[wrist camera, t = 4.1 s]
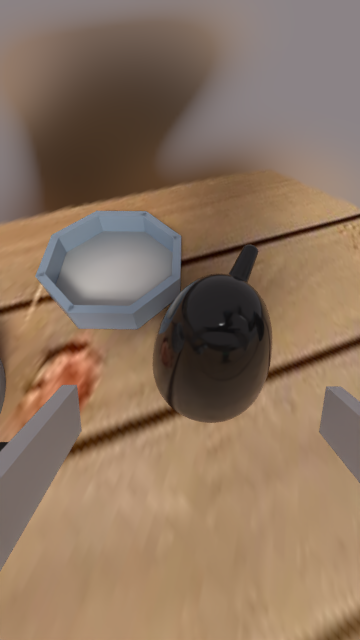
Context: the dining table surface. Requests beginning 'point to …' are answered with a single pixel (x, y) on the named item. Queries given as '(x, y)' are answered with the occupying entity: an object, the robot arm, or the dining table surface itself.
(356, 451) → the robot arm
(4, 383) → the dog bowl
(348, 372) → the dining table surface
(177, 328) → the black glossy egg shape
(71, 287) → the bowl
